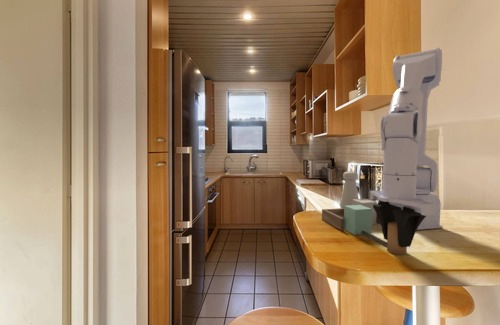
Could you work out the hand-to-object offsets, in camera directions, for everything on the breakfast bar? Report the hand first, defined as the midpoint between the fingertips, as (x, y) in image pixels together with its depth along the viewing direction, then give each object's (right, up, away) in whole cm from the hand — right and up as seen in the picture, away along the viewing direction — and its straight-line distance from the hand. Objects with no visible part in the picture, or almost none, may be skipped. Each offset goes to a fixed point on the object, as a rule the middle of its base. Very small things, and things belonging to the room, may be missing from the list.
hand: (396, 242), depth 52 cm
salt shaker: (+2, 0, +31) cm, 30 cm away
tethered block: (-1, -1, +7) cm, 7 cm away
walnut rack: (-1, -1, +19) cm, 19 cm away
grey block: (+2, -1, +21) cm, 21 cm away
